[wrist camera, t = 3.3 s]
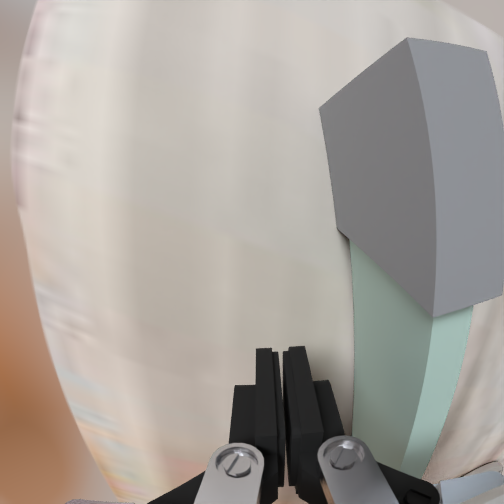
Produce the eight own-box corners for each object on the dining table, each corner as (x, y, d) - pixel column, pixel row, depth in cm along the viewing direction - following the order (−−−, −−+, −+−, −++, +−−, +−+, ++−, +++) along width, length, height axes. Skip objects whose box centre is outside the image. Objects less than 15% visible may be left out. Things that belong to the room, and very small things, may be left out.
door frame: (364, 479, 18) (384, 556, 11) (341, 485, 18) (356, 564, 11) (363, 104, 11) (486, 51, 4) (319, 108, 11) (406, 37, 4)
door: (368, 451, 17) (392, 532, 10) (348, 456, 17) (368, 539, 10) (377, 233, 12) (476, 303, 6) (346, 238, 12) (429, 318, 6)
